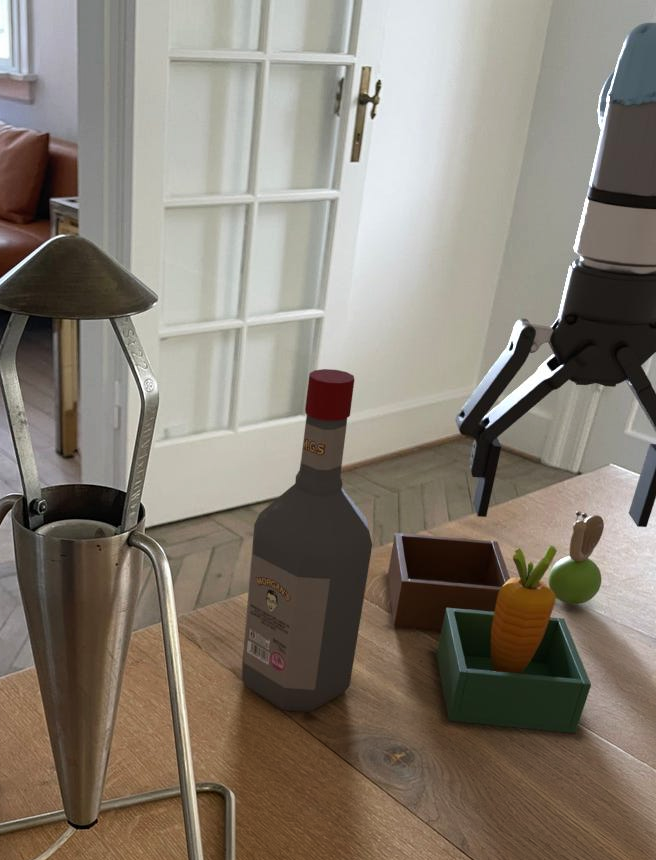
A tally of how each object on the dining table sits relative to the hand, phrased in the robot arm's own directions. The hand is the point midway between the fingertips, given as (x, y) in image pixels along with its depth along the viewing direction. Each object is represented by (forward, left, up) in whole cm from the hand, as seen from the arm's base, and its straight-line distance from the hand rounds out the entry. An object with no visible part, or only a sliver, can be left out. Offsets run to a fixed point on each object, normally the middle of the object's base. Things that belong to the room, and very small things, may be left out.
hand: (557, 515), depth 85 cm
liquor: (+21, +4, -18) cm, 28 cm away
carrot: (+1, +2, -18) cm, 18 cm away
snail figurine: (-9, -17, -18) cm, 26 cm away
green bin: (+1, +2, -18) cm, 18 cm away
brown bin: (+5, -14, -18) cm, 23 cm away
